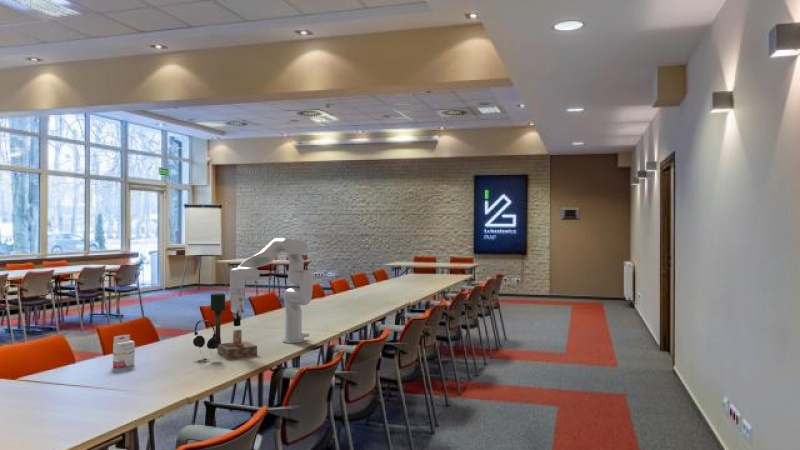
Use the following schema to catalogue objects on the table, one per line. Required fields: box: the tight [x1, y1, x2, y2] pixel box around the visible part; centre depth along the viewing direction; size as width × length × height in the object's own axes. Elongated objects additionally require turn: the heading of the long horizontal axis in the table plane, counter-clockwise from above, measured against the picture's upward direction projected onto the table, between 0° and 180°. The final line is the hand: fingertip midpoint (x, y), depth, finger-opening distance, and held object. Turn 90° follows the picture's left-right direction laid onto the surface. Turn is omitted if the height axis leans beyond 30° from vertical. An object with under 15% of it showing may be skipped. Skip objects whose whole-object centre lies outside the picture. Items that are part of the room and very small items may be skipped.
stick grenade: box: [209, 292, 227, 349], centre depth 322 cm, size 8×9×30 cm
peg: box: [230, 328, 244, 346], centre depth 304 cm, size 6×6×13 cm
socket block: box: [217, 340, 258, 360], centre depth 304 cm, size 16×16×5 cm
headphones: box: [192, 319, 219, 364], centre depth 291 cm, size 15×11×20 cm
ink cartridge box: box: [112, 334, 136, 369], centre depth 279 cm, size 9×5×15 cm, turn 145°
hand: (237, 325), depth 304 cm, fingers closed
